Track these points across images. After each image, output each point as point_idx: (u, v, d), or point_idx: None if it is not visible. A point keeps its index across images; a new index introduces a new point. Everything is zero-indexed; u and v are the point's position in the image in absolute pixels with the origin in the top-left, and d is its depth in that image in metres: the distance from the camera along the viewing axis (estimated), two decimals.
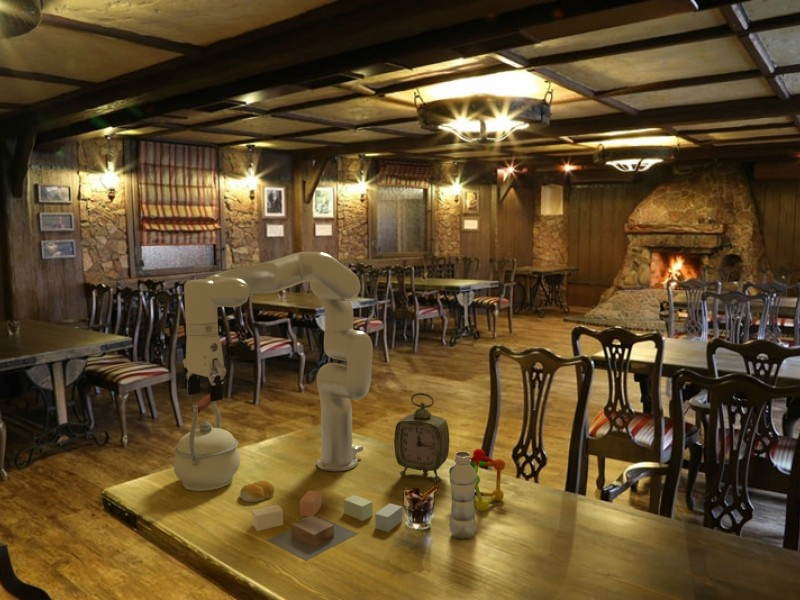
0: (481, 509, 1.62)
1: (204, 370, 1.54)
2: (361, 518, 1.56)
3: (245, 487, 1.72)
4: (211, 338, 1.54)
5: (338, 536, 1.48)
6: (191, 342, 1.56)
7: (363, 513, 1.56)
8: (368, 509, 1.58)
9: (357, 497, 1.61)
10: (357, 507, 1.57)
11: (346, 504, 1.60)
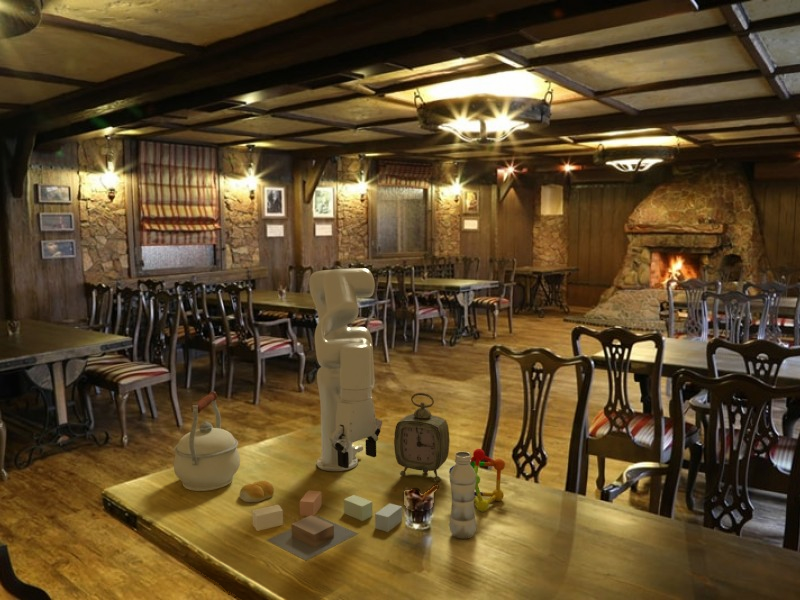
0: (481, 509, 1.62)
1: (373, 429, 1.58)
2: (361, 518, 1.56)
3: (245, 487, 1.72)
4: None
5: (338, 536, 1.48)
6: (360, 408, 1.54)
7: (363, 513, 1.56)
8: (368, 509, 1.58)
9: (357, 497, 1.61)
10: (356, 507, 1.57)
11: (346, 504, 1.60)
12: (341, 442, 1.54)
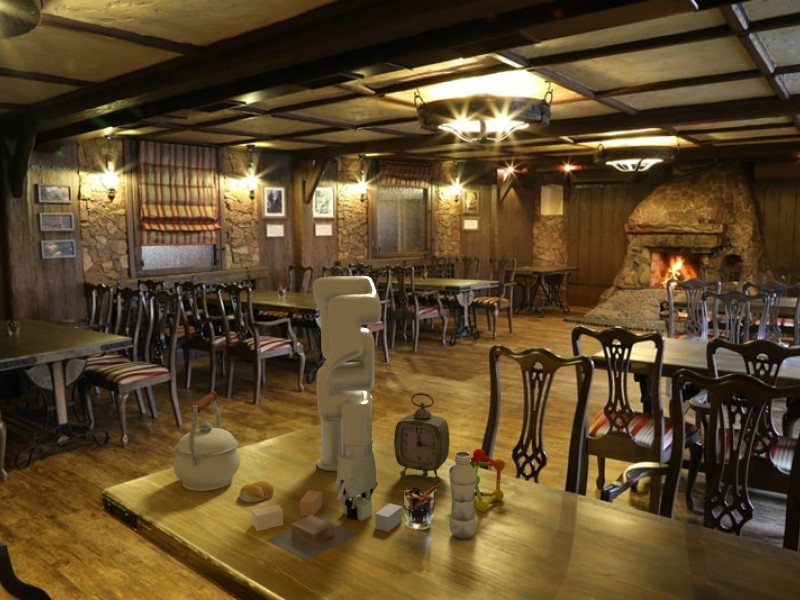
0: (481, 509, 1.62)
1: (373, 482, 1.60)
2: (360, 518, 1.57)
3: (244, 487, 1.72)
4: None
5: (338, 536, 1.48)
6: (361, 463, 1.56)
7: (362, 513, 1.56)
8: (367, 509, 1.58)
9: None
10: (356, 506, 1.57)
11: None
12: (348, 497, 1.58)
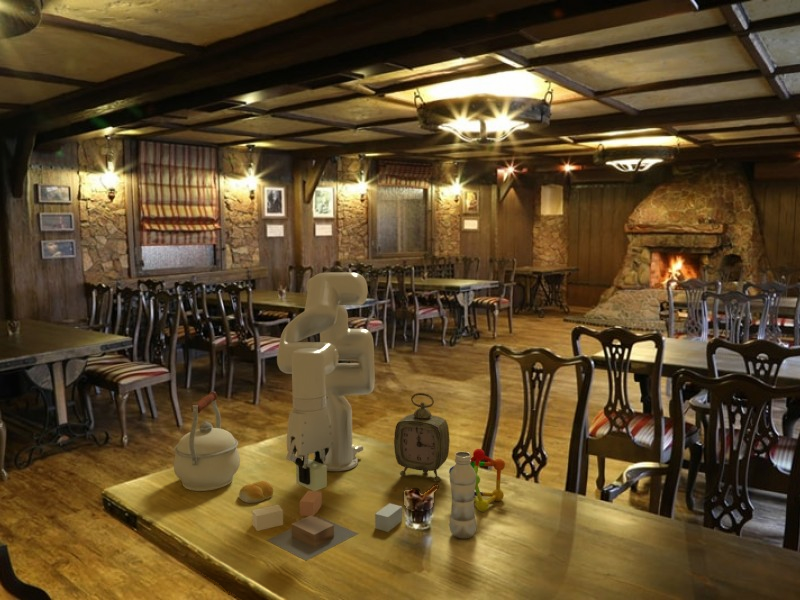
0: (481, 509, 1.62)
1: (328, 440, 1.47)
2: (313, 483, 1.44)
3: (244, 488, 1.72)
4: None
5: (338, 536, 1.48)
6: (313, 418, 1.43)
7: (315, 477, 1.43)
8: (322, 473, 1.45)
9: (311, 461, 1.48)
10: None
11: (298, 468, 1.47)
12: (300, 456, 1.45)
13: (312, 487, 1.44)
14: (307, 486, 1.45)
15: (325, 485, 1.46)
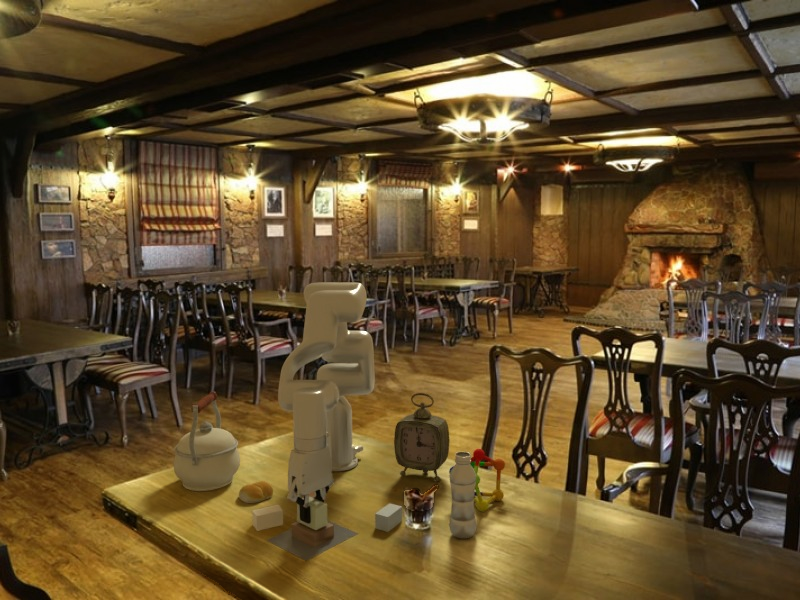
0: (481, 509, 1.62)
1: (328, 479, 1.48)
2: (314, 522, 1.45)
3: (244, 488, 1.72)
4: None
5: (338, 536, 1.48)
6: (314, 458, 1.44)
7: (316, 516, 1.44)
8: (322, 512, 1.46)
9: (311, 499, 1.49)
10: (310, 510, 1.45)
11: None
12: (300, 495, 1.46)
13: (313, 526, 1.45)
14: (308, 525, 1.46)
15: (326, 523, 1.47)
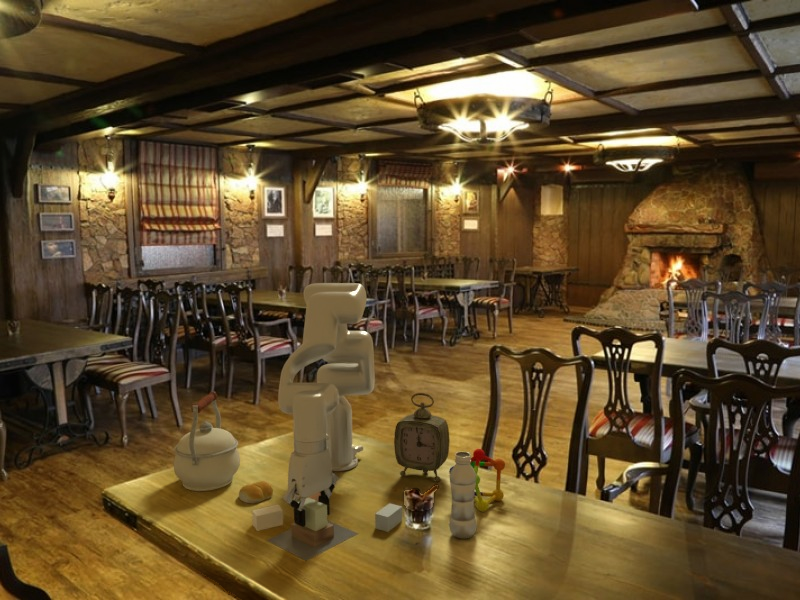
0: (481, 509, 1.62)
1: (329, 481, 1.48)
2: (314, 523, 1.45)
3: (244, 488, 1.72)
4: None
5: (338, 536, 1.48)
6: (314, 461, 1.44)
7: (316, 517, 1.45)
8: (322, 513, 1.46)
9: (311, 500, 1.49)
10: (309, 511, 1.46)
11: None
12: (297, 498, 1.45)
13: (313, 527, 1.45)
14: (308, 526, 1.46)
15: (326, 524, 1.47)
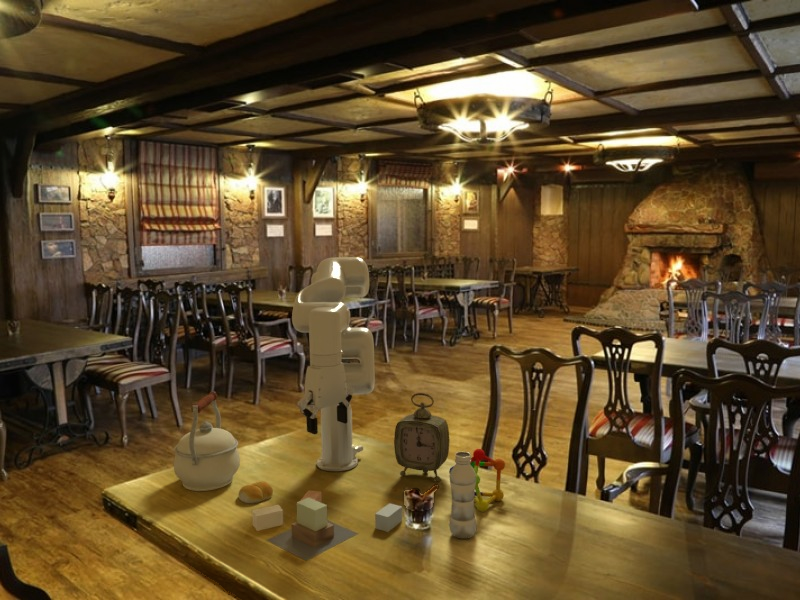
0: (481, 509, 1.62)
1: (343, 395, 1.55)
2: (314, 523, 1.45)
3: (243, 488, 1.71)
4: None
5: (338, 536, 1.48)
6: (329, 373, 1.50)
7: (316, 517, 1.45)
8: (322, 513, 1.46)
9: (311, 500, 1.49)
10: (309, 511, 1.46)
11: (299, 508, 1.48)
12: (310, 408, 1.51)
13: (313, 527, 1.45)
14: (308, 526, 1.46)
15: (326, 524, 1.47)
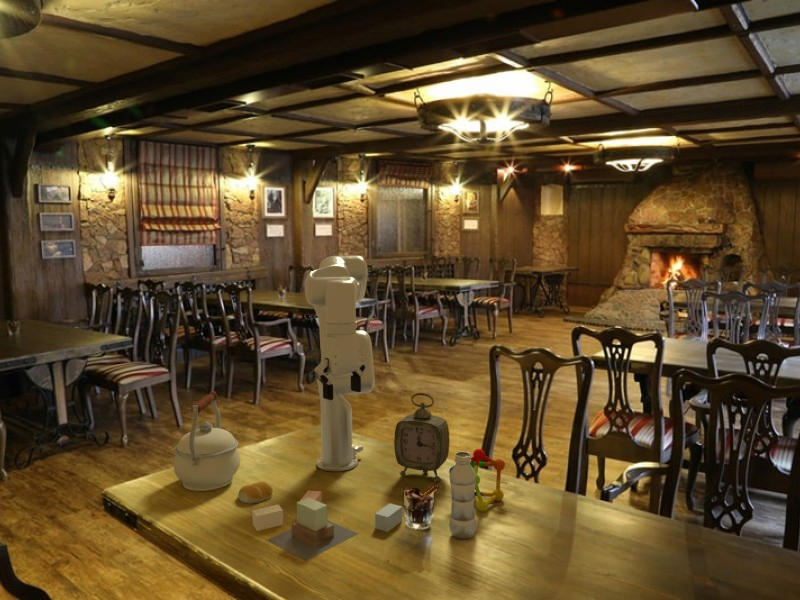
0: (481, 509, 1.62)
1: (357, 364, 1.63)
2: (314, 523, 1.45)
3: (243, 488, 1.71)
4: None
5: (338, 536, 1.48)
6: (345, 342, 1.58)
7: (316, 517, 1.45)
8: (322, 513, 1.46)
9: (311, 500, 1.49)
10: (309, 511, 1.46)
11: (299, 508, 1.48)
12: (326, 375, 1.59)
13: (313, 527, 1.45)
14: (308, 526, 1.46)
15: (326, 524, 1.47)
